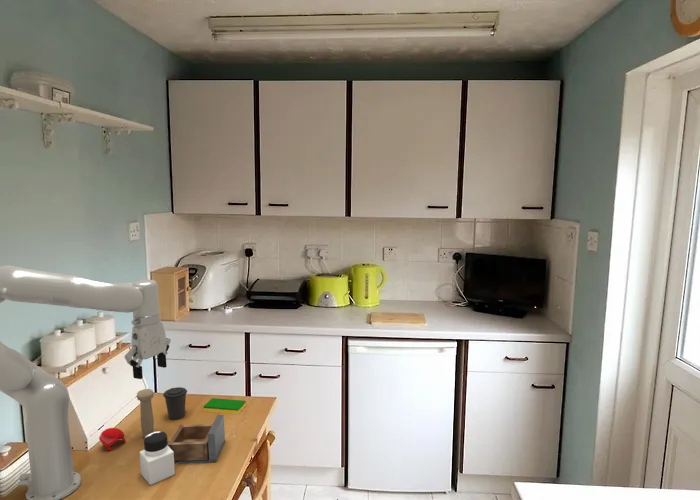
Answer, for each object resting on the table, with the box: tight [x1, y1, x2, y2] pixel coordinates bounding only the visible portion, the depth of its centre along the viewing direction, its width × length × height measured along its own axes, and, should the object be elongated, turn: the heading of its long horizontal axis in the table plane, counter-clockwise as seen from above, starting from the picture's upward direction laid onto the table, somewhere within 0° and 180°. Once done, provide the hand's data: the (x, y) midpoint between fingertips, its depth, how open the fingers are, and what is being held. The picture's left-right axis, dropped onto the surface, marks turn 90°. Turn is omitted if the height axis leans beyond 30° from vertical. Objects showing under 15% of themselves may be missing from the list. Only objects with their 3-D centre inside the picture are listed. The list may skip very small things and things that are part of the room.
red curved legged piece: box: [98, 427, 127, 452], centre depth 144 cm, size 8×6×6 cm
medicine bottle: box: [139, 430, 176, 486], centre depth 129 cm, size 7×7×12 cm
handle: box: [136, 388, 155, 438], centre depth 149 cm, size 5×6×15 cm
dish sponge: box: [202, 397, 247, 415], centre depth 169 cm, size 7×14×2 cm, turn 79°
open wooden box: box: [168, 423, 213, 461], centre depth 140 cm, size 11×11×5 cm
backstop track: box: [167, 414, 226, 465], centre depth 140 cm, size 21×12×9 cm, turn 92°
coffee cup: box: [162, 386, 188, 421], centre depth 163 cm, size 8×8×10 cm
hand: (150, 372), depth 143 cm, fingers open, 9 cm apart
